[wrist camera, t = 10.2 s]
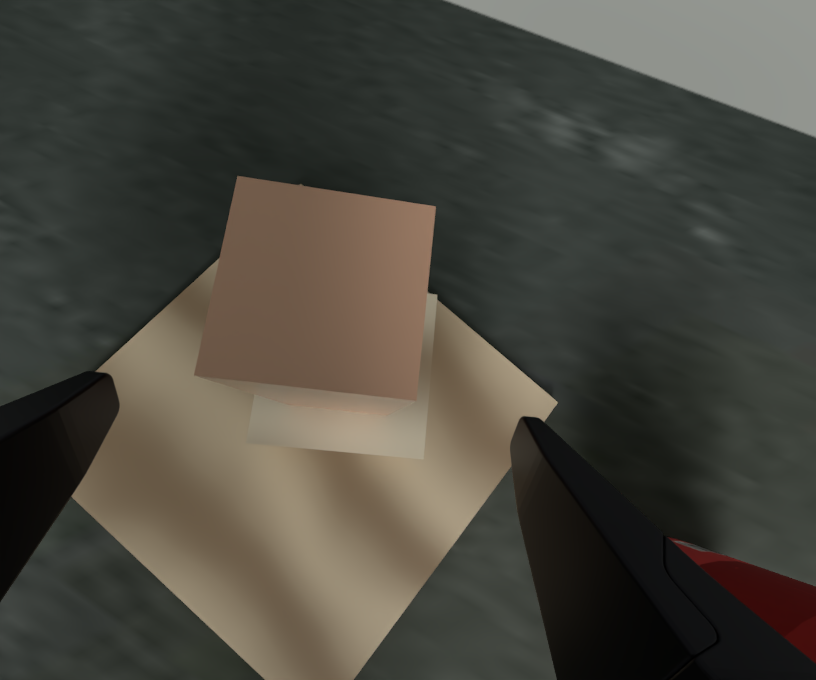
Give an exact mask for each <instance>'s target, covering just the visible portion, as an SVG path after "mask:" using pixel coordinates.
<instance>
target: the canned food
mask: <svg viewBox="0 0 816 680" xmlns="http://www.w3.org/2000/svg"><path fill="white" fill-rule="evenodd" d="M668 538H669V539H670V540H671V541H673V542H674V543H675V544H676V545H677V546H678V547H679V548H680V549H681V550H682V551H683V552H684V553H686V554H687V555H688V556H689V557H690V558H691V559H692V560H693V561H694V562H696V563H697V564H698V565H699V566H700V567H701V568H702V569H703V570H704V571H706V572H707V573H708V574H709V575H710V576H711V577H712V578H714V579H715V580H716V581H717V582H718V583H719V584H721V585H722V586H723V587H724V588H725V589H727V590H728V591H729V592H730V593H731V594H732V595H734V596H735V597H736V598H737V599H738V600H740V601H741V602H742V603H743V604H744V605H746V606H747V607H748V608H749V609H750V610H752V611H753V612H754V613H755V614H756V615H758V616H759V617H760V618H761V619H763V620H764V621H765V622H766V623H767V624H769V625H770V626H771V627H772V628H773V629H775V630H776V631H777V632H778V633H779V634H781V635H782V636H783V637H784V638H786V639H787V640H788V641H789V642H790V643H792V644H793V645H794V646H795V647H796V648H798V649H799V650H800V651H801V652H802V653H804V654H805V655H806V656H807V657H809V658H810V659H811V660H812V661H813V662H815V663H816V587H815V586H812V585H809V584H807V583H804V582H801V581H798V580H795V579H792V578H789V577H786V576H783V575H780V574H778V573H775V572H772V571H769V570H766V569H763V568H760V567H757V566H754V565H751V564H749V563H746V562H743V561H740V560H737V559H734V558H731V557H728V556H725V555H723V554H720V553H717V552H714V551H711V550H708V549H705V548H702V547H699V546H696V545H694V544H691V543H688V542H685V541H682V540H678V539H674V538H670V537H668Z"/></svg>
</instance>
